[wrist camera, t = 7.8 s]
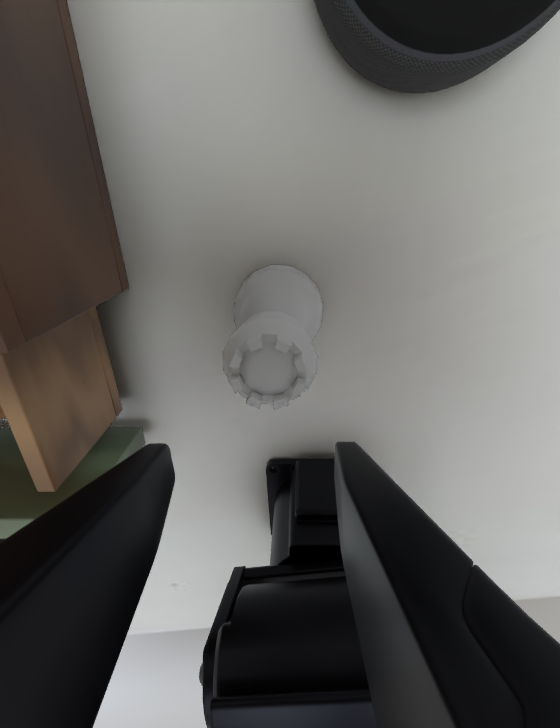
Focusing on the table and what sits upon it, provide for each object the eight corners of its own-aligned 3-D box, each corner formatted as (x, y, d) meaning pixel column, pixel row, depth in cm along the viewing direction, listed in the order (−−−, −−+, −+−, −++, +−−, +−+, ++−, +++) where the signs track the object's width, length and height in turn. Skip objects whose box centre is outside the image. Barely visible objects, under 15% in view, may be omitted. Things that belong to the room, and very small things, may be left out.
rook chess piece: (326, 341, 19) (344, 427, 12) (245, 351, 20) (215, 440, 13) (317, 256, 18) (331, 297, 10) (227, 269, 18) (181, 318, 11)
